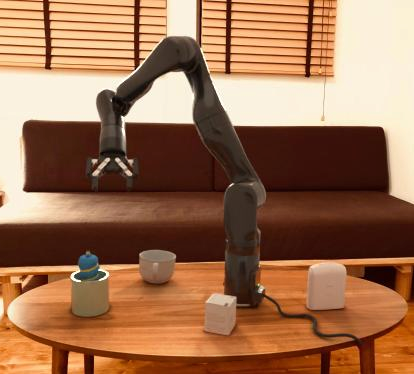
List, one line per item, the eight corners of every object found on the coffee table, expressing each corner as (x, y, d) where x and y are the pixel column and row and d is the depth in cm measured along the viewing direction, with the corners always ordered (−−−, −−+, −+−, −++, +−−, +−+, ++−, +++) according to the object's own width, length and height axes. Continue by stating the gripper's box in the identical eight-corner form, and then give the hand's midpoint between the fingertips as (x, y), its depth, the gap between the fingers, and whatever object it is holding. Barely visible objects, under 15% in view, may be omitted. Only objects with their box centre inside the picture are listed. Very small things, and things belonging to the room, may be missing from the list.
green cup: (115, 304, 121) (115, 272, 120) (95, 319, 113) (95, 284, 111) (85, 299, 124) (85, 266, 122) (63, 312, 115) (62, 278, 114)
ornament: (94, 311, 115) (93, 253, 113) (75, 309, 116) (73, 252, 114) (103, 303, 120) (102, 247, 118) (84, 301, 121) (83, 245, 119)
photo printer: (309, 311, 121) (312, 266, 119) (303, 304, 125) (306, 260, 123) (346, 309, 123) (350, 265, 120) (339, 303, 127) (343, 259, 125)
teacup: (145, 272, 145) (145, 247, 144) (179, 275, 144) (179, 250, 142) (130, 289, 131) (130, 262, 130) (168, 292, 130) (168, 265, 129)
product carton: (212, 320, 114) (213, 292, 113) (235, 324, 112) (237, 296, 111) (203, 331, 108) (204, 301, 107) (228, 336, 106) (229, 306, 105)
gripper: (86, 135, 130) (84, 182, 121) (138, 136, 133) (139, 182, 124) (88, 151, 136) (86, 197, 127) (137, 152, 139) (138, 197, 130)
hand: (112, 190), depth 126 cm, fingers open, 8 cm apart
